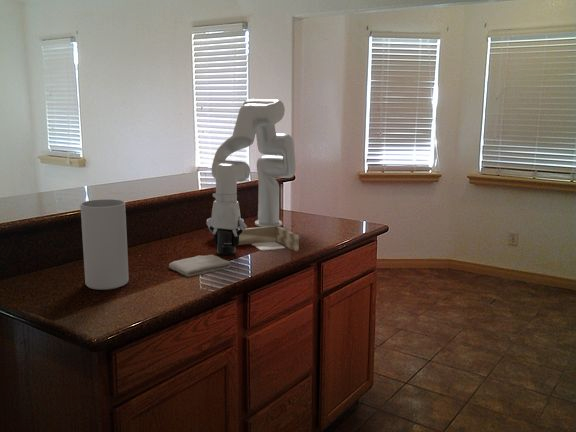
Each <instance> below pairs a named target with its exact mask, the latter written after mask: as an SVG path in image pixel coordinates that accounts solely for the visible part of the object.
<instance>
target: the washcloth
mask: <svg viewBox="0 0 576 432" xmlns="http://www.w3.org/2000/svg"><path fill="white" fill-rule="evenodd" d="M168 268H170V269H171V270H173V271H174V272H177V273H179V274H180V275H183V276H185V277H189V278H191V277H192V276H193V277H194V276H197V275H201V274H202V275H203V274H205V273H211V272H214V271H215V272H216V271H219V270H225V269H229V268H231V262H230V260H227V259H224V258H222V257H220V256H218V255H214V254H208V255H196V256H192V257H187V258H181V259H178V260H174V261H171V262H170V263H169V264H168Z"/></svg>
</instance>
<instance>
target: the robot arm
mask: <svg viewBox="0 0 576 432" xmlns="http://www.w3.org/2000/svg"><path fill="white" fill-rule="evenodd" d="M284 104H285V103H283V102H282V101H281V100H279V99H264V98H263V99H260V98H256V99H255V98H251V99H246V100H245V101H243V104H242V106H241V107H240V108H239V110H238V114H237V118H236V122H235V125H234V128H233V133H232V135H231V136H230V137H229V138H227V139H226V140H225V141H224V142H222V144H221V145H220V146H219V147H218V148H217V149H216V151H215V155H214V157H213V160H212V165H211V175H212V177H213V178H214V179H215V193H212V197H213V198H214V201H213V203H212V209H211V217H210V218H211V219H210V220H209V221H208V222H207V221H206V223H205V224H206V225H207V227H208V229H209V228H210V229H209V231H210V230H211V231H212V232H213V233H212V232H211V231H210V232H211V233H212V235H213V242H214V245H215V246H217V231H218V229H227V230H232V231H233V233H234V237H233V247H237V246H239V245H238V244H239V235H240V234H241V233H242V232H243V231H244V230H245V229H246V228H248V226H247V224H246V223H245V221H244V222H243V221H242V220H241V211H240V210H241V209H240V203H239V201H238V200H237V199H238V194H237V193H238V189H237V187H238V186H237V185H238V184H237V183H238V182H241V183H242V182H245V181H246V180H248V179H249V177H250V175H251V168H250V166H249V164H248V163H247V162H245V161H242V160H241V161H240V160H238V161H237V160H227V158H228V157H229V156H231V154H234V153H235V152H236V153H237V151H238V152H239V151H241V150H244V149H245V148H248V147H251V145H253V144H254V142H255V138H256V144H257V150H258V152H259V153H260V154H261V155H262V156H260V157H259V158H258V159H257V160H256V171H257V180H258V194H257V195H258V196H257V197H258V203H257V207H258V208H257V209H258V210H257V219H256V220H255V221H254V225H255V226H256V227H266V226H276V225H278V226H280V227H282V226H283V221H282V220H280V184H279V182H278V181H277V180H276V179H277V178H281V179H284V178H285V179H291V178H292V177H294V176H295V175H296V174H295V173H296V157H295V154H296V153H295V143H294V138H293V137H292V136H291V135H290V134H289V133H278V132H277V131H276V126H275V125H276V124H278V123H279V122H281V120H283V118H284V116H285V110H286V109H285V105H284ZM240 225H241V229H240V230H239V229H238V227H240Z"/></svg>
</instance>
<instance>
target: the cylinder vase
mask: <svg viewBox="0 0 576 432" xmlns="http://www.w3.org/2000/svg"><path fill="white" fill-rule="evenodd" d="M126 210H127V209H126V201H125V200H120V199H111V198H110V199H109V198H107V199H106V198H105V199H92V200H86V201H82V202H80V218H81V219H80V220H81V233H82V234H81V235H82V237H81V238H82V251H83V252H82V253H83V269H84V281H85V282H84V283H85V286H86V287H88V288H89V289H92V290H98V291H101V290H102V291H105V290H113V289H114V290H115V289H118V288H121V287H124V286H125V285H127V284H128V282H129V258H128V257H129V256H128V255H129V254H128V237H127V236H128V235H127V216H126V215H127V213H126Z"/></svg>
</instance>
